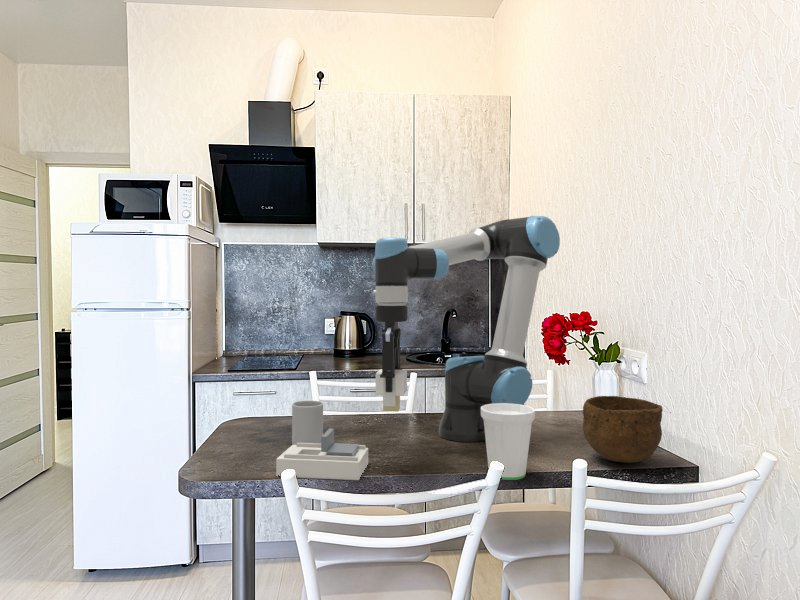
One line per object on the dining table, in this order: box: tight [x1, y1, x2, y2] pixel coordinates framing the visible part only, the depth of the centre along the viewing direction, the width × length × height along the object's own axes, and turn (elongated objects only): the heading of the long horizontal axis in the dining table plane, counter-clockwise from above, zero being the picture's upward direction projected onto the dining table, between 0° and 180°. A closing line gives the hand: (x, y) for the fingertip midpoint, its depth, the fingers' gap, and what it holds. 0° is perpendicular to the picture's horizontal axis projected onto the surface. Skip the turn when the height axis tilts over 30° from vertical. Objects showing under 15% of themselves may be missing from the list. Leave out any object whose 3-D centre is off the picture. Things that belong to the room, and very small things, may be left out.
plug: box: [375, 368, 408, 413], centre depth 136 cm, size 6×6×12 cm
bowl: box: [582, 395, 664, 464], centre depth 144 cm, size 19×19×15 cm
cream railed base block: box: [275, 443, 369, 481], centre depth 136 cm, size 19×12×5 cm, turn 83°
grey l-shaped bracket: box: [321, 428, 360, 456], centre depth 136 cm, size 7×8×5 cm
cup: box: [481, 403, 536, 481], centre depth 134 cm, size 12×12×15 cm
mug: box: [291, 400, 324, 445], centre depth 161 cm, size 12×8×11 cm
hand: (391, 402), depth 136 cm, fingers closed on plug, 6 cm apart
